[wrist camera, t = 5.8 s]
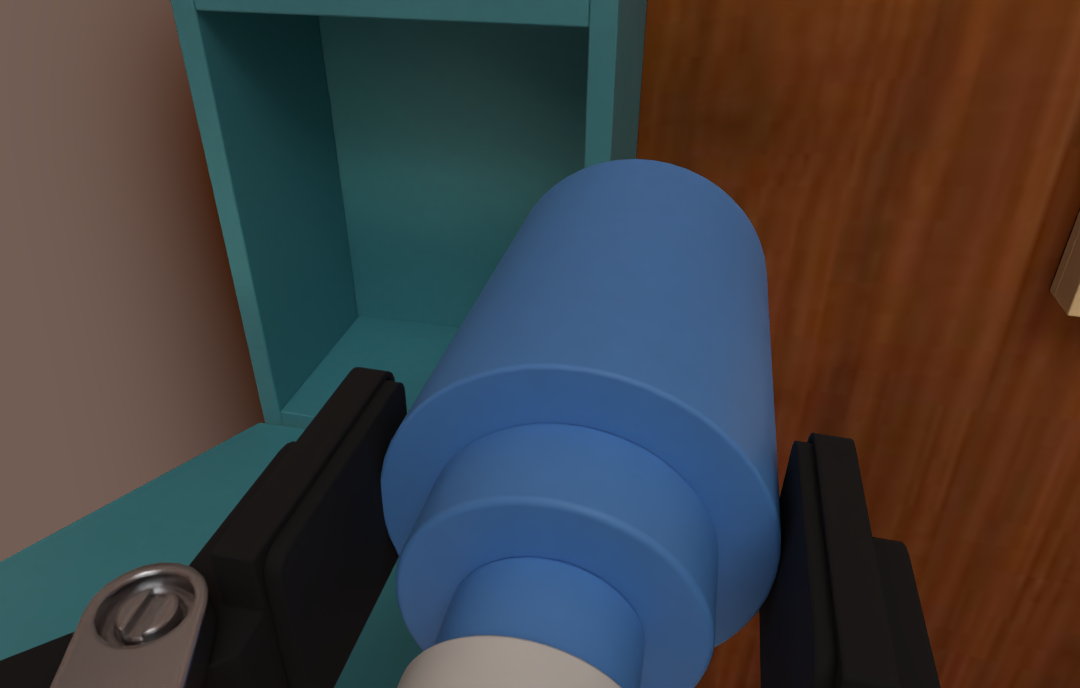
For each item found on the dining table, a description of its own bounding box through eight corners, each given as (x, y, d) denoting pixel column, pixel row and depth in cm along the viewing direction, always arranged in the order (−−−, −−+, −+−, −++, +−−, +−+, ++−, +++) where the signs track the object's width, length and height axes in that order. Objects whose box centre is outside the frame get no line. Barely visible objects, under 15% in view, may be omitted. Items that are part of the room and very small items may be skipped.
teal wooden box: (301, -49, 31) (164, -19, 24) (649, -39, 29) (619, -3, 21) (352, 319, 40) (264, 424, 32) (622, 350, 37) (594, 472, 30)
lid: (-229, 682, 15) (-197, 907, 16) (452, 843, 13) (437, 1093, 14) (259, 422, 32) (259, 541, 33) (593, 469, 29) (581, 596, 31)
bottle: (470, 214, 18) (112, 678, 8) (712, 114, 15) (652, 582, 5) (576, 411, 20) (405, 974, 10) (801, 348, 18) (877, 992, 8)
